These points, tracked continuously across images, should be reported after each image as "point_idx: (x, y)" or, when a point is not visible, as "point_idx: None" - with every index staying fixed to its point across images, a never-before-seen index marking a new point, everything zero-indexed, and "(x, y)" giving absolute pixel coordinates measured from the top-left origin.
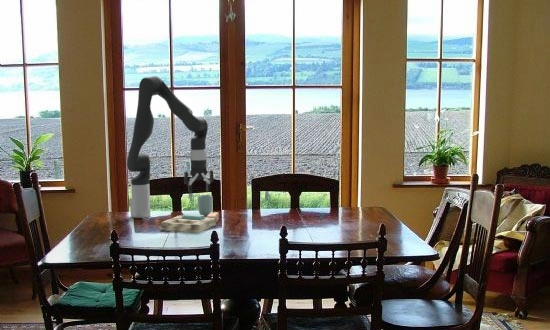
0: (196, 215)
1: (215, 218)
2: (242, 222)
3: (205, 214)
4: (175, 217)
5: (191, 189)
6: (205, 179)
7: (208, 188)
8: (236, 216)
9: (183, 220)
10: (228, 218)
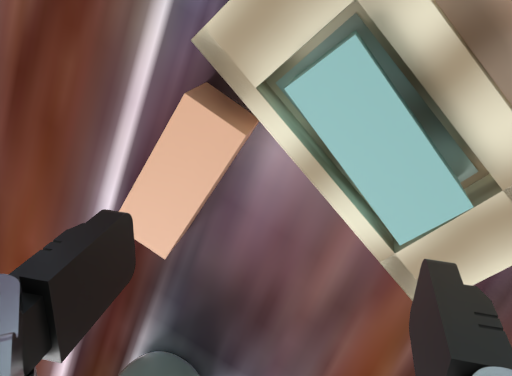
0: (360, 110)
1: (196, 34)
2: (5, 16)
3: (177, 356)
4: (498, 261)
5: (443, 292)
6: (1, 356)
7: (83, 230)
8: (10, 223)
9: (505, 102)
10: (69, 198)
